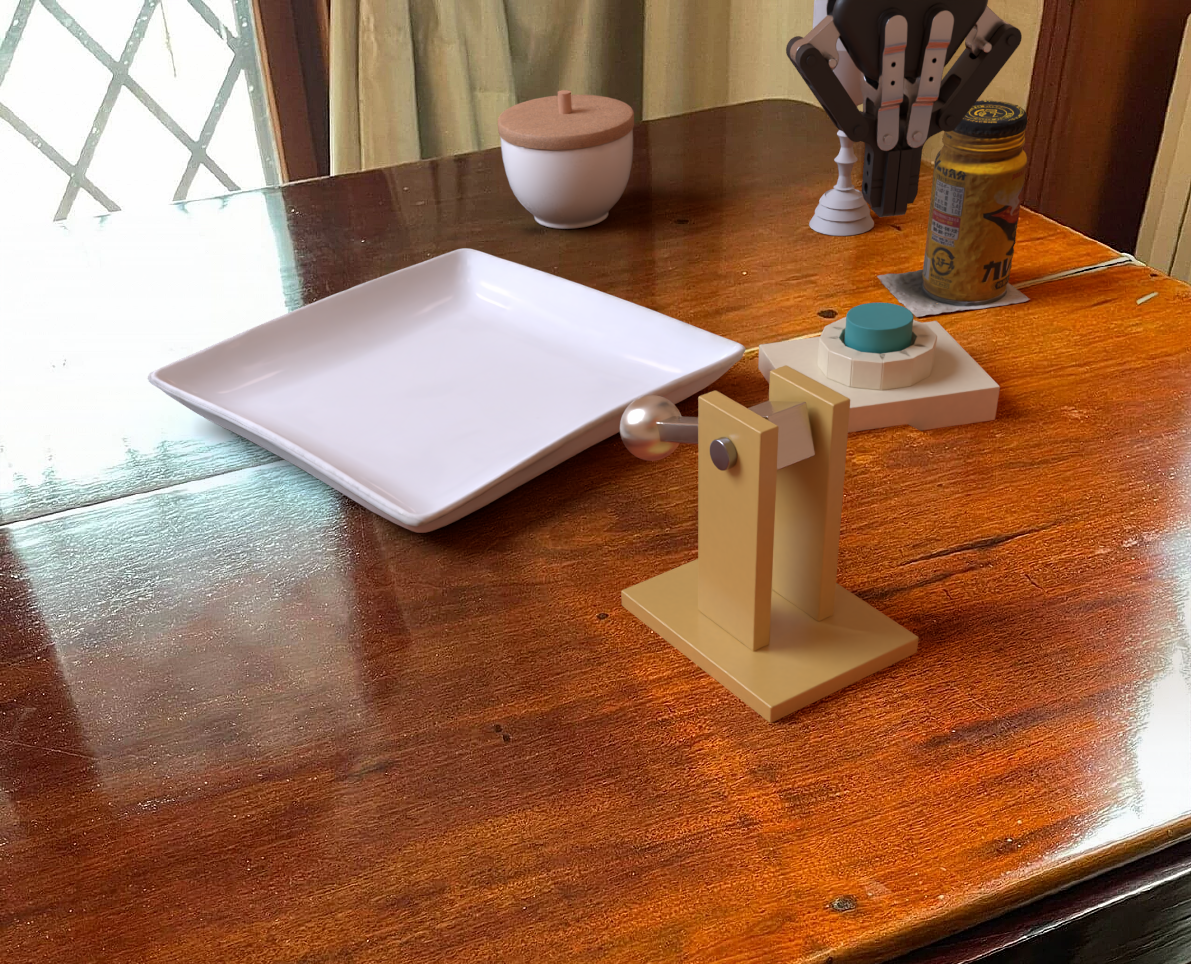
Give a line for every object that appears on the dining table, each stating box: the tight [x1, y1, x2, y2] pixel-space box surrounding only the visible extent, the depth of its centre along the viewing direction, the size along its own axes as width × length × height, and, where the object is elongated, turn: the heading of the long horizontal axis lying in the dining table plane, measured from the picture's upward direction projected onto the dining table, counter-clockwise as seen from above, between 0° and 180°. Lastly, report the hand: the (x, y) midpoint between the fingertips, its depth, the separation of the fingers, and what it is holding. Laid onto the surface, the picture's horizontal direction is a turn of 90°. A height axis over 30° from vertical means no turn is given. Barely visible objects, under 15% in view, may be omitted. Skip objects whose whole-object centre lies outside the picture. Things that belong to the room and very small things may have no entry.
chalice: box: [808, 0, 875, 237], centre depth 105 cm, size 7×7×18 cm
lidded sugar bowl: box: [497, 89, 635, 230], centre depth 112 cm, size 11×11×9 cm
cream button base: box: [757, 316, 1001, 433], centre depth 87 cm, size 12×10×4 cm
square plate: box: [147, 247, 747, 534], centre depth 88 cm, size 27×27×4 cm
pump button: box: [845, 302, 915, 354], centre depth 85 cm, size 4×4×2 cm
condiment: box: [876, 99, 1031, 318], centre depth 96 cm, size 7×8×12 cm
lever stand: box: [620, 365, 919, 724], centre depth 65 cm, size 12×9×13 cm
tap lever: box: [619, 395, 815, 470], centre depth 67 cm, size 13×3×3 cm, turn 34°
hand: (886, 211), depth 81 cm, fingers closed
